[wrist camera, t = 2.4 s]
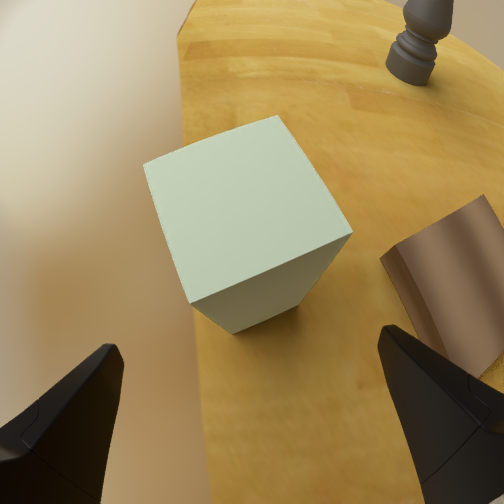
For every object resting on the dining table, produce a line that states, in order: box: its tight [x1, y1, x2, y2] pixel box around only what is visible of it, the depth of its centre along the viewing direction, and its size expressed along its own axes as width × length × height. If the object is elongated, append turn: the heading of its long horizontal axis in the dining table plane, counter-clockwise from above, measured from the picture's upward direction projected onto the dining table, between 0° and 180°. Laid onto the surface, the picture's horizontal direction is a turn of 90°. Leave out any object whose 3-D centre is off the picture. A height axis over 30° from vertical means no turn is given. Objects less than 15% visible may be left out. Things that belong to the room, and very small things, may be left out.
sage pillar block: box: [143, 115, 353, 335], centre depth 15 cm, size 5×5×13 cm
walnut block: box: [380, 194, 504, 378], centre depth 19 cm, size 12×12×3 cm
